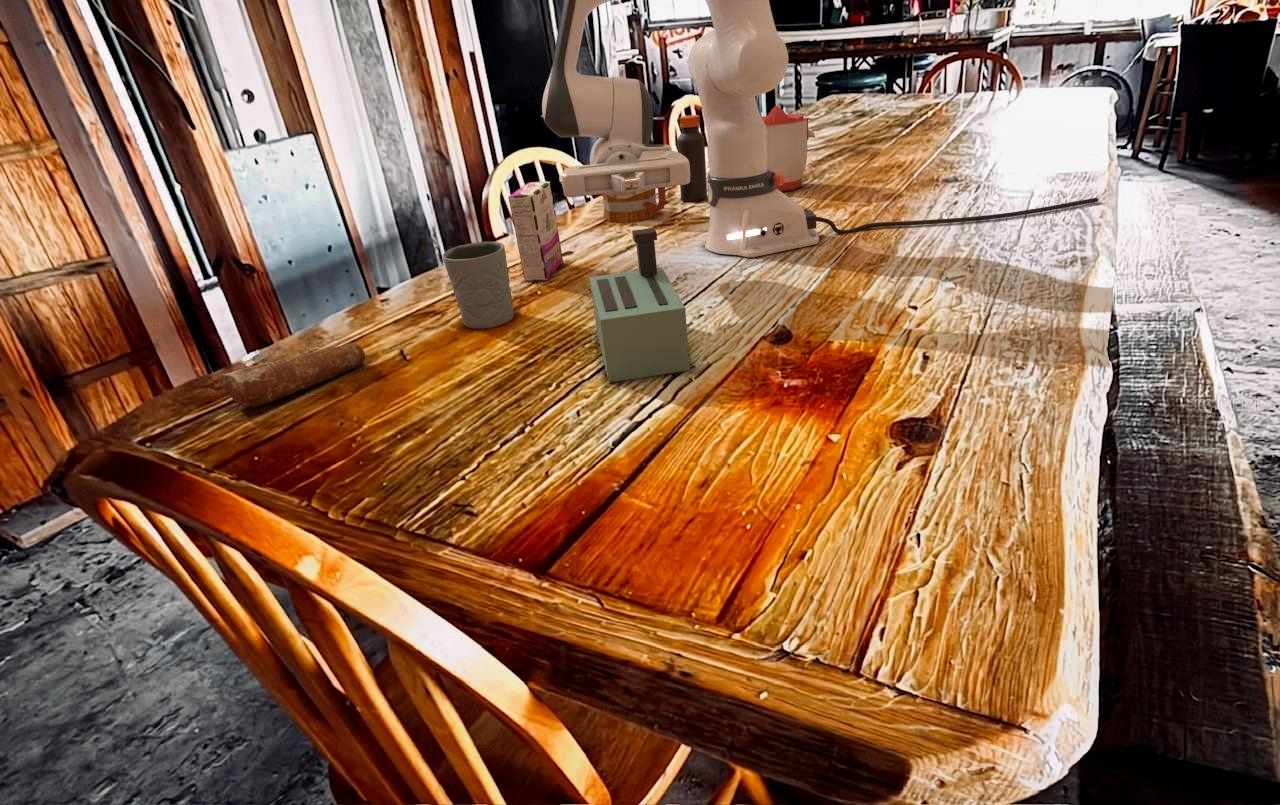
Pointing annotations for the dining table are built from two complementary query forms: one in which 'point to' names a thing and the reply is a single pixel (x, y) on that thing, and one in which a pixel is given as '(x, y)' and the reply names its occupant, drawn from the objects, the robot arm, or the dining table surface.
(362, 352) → the bread
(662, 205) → the mug
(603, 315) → the toaster
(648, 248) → the slide switch
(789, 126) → the citrus juicer
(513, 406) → the dining table surface
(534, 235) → the candy bar box
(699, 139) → the bottle
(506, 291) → the gray embossed cup
